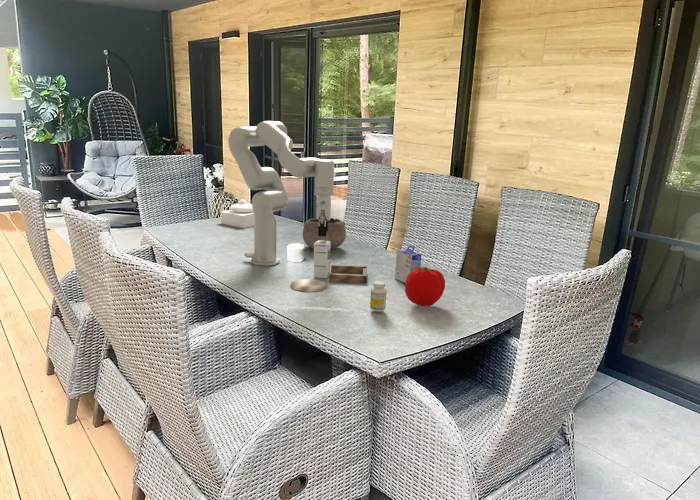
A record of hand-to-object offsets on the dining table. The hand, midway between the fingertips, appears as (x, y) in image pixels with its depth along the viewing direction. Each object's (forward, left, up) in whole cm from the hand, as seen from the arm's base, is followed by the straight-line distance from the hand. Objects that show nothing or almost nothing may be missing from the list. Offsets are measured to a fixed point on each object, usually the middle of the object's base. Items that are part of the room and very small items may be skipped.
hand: (323, 233), depth 215 cm
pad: (-4, -14, -18) cm, 23 cm away
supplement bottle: (+22, -36, -18) cm, 46 cm away
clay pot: (-2, +44, -18) cm, 48 cm away
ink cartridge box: (+35, -2, -18) cm, 39 cm away
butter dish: (-52, +91, -18) cm, 106 cm away
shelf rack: (+11, 0, -18) cm, 21 cm away
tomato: (+39, -28, -18) cm, 51 cm away
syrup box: (0, 0, -18) cm, 18 cm away
